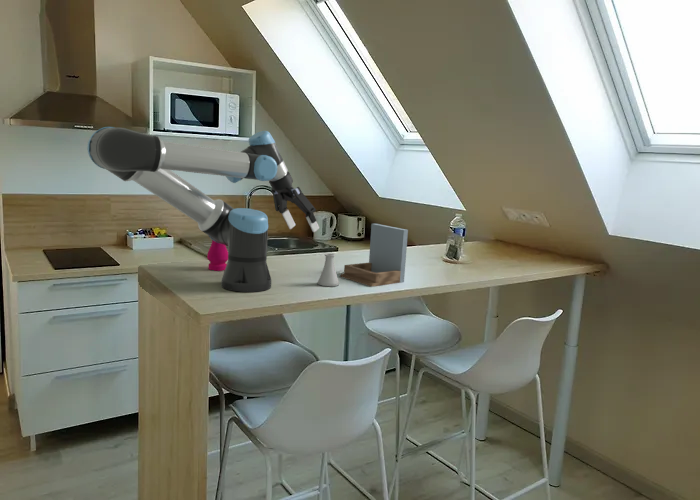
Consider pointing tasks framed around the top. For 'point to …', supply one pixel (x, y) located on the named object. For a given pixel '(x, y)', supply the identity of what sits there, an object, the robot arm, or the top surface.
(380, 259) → the wall board
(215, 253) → the pepper mill
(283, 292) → the top surface
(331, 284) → the flask
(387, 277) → the wooden tray
